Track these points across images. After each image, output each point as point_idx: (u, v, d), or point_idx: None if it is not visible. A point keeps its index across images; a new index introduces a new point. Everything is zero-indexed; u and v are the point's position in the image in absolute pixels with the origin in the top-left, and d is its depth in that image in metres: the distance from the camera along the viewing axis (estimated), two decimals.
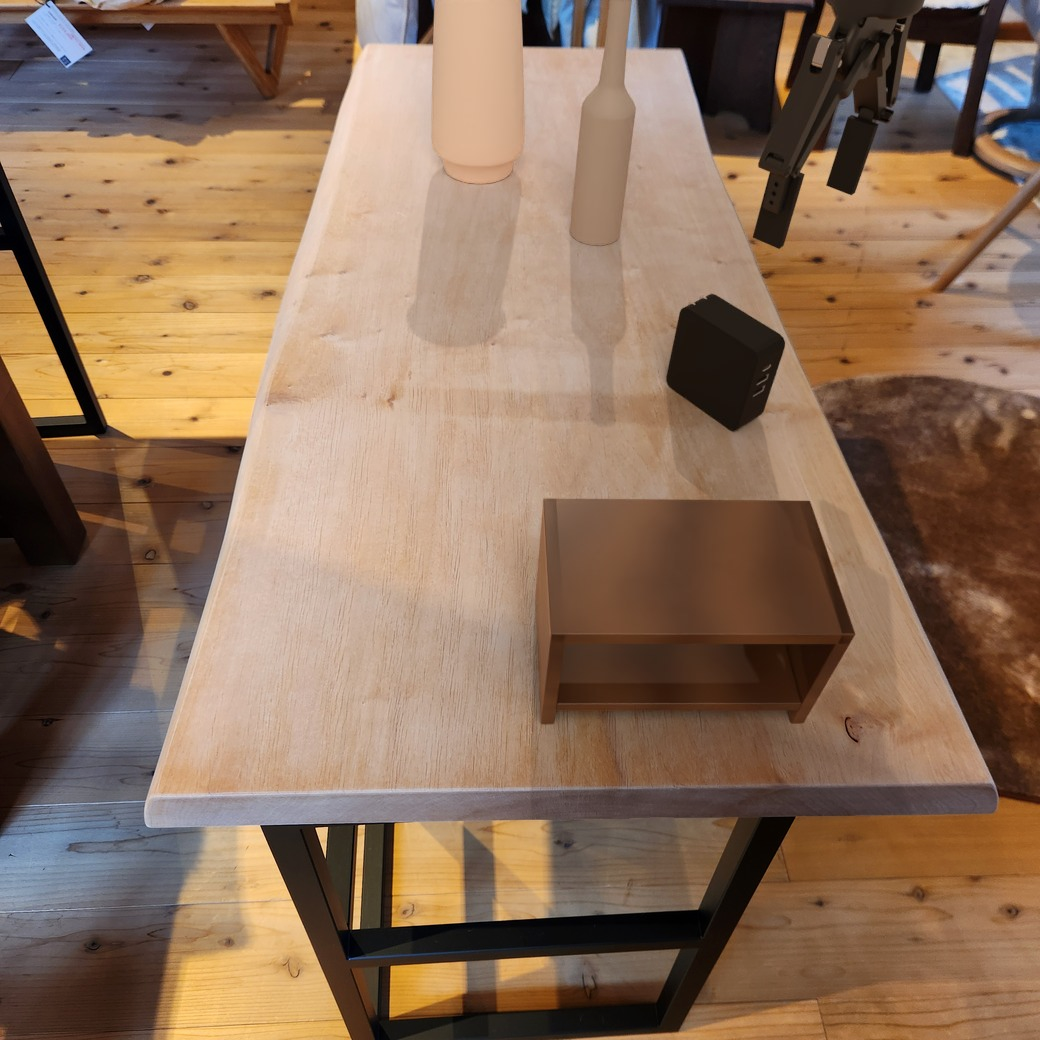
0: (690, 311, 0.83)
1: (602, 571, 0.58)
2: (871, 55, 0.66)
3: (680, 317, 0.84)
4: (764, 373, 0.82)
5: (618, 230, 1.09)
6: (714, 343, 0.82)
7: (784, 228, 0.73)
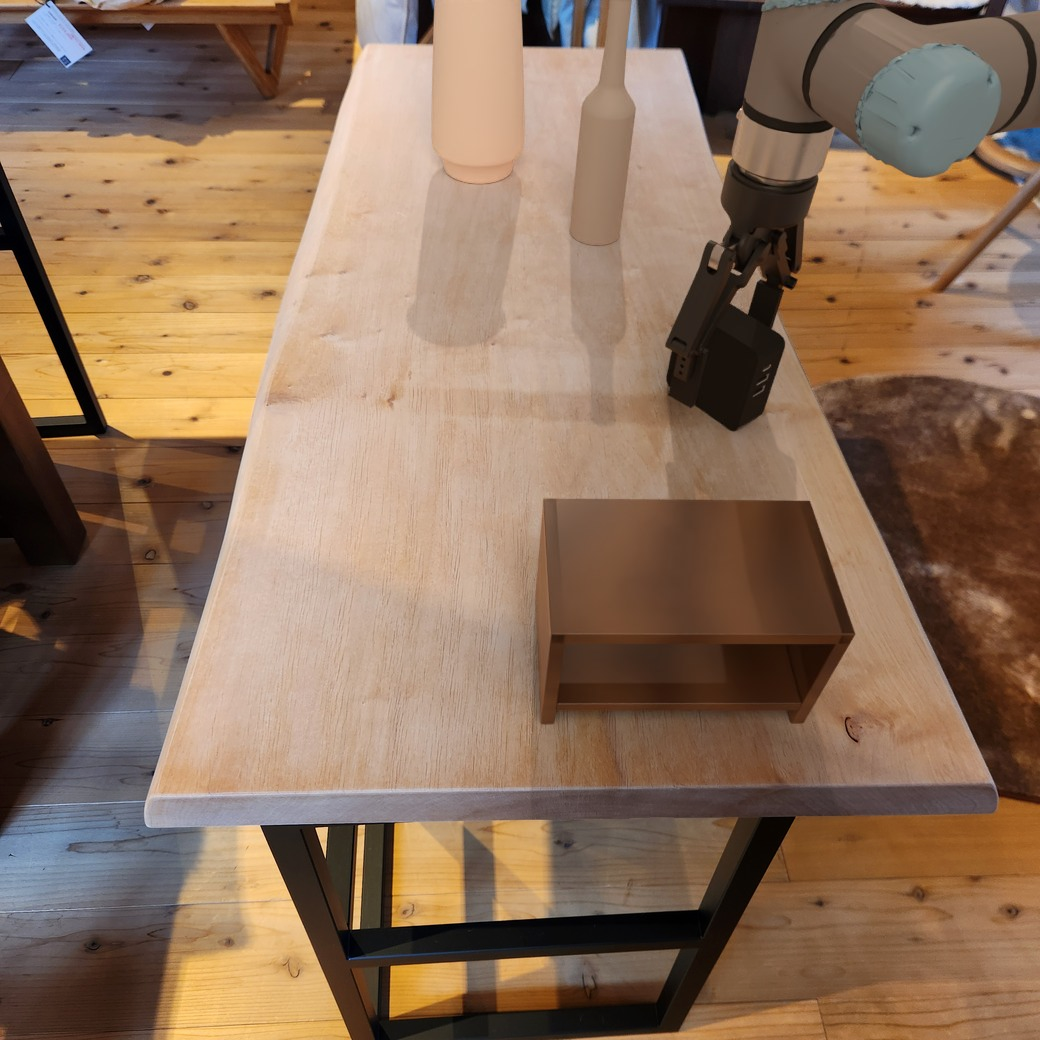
0: None
1: (602, 571, 0.58)
2: (764, 253, 0.74)
3: None
4: (764, 373, 0.82)
5: (618, 230, 1.09)
6: (715, 343, 0.82)
7: (694, 392, 0.81)
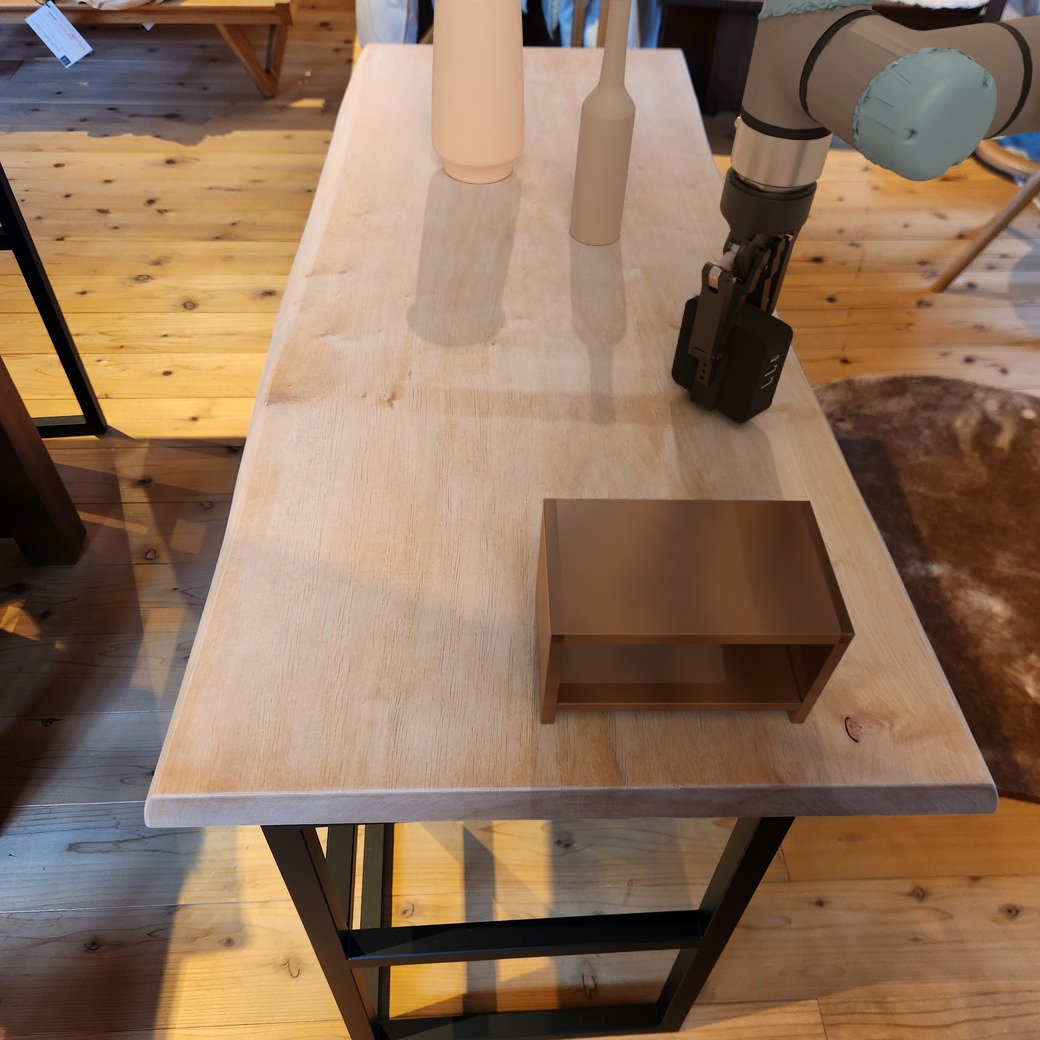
0: (696, 302, 0.82)
1: (602, 571, 0.58)
2: (763, 260, 0.74)
3: (686, 309, 0.83)
4: (772, 364, 0.80)
5: (618, 230, 1.09)
6: None
7: (714, 396, 0.84)
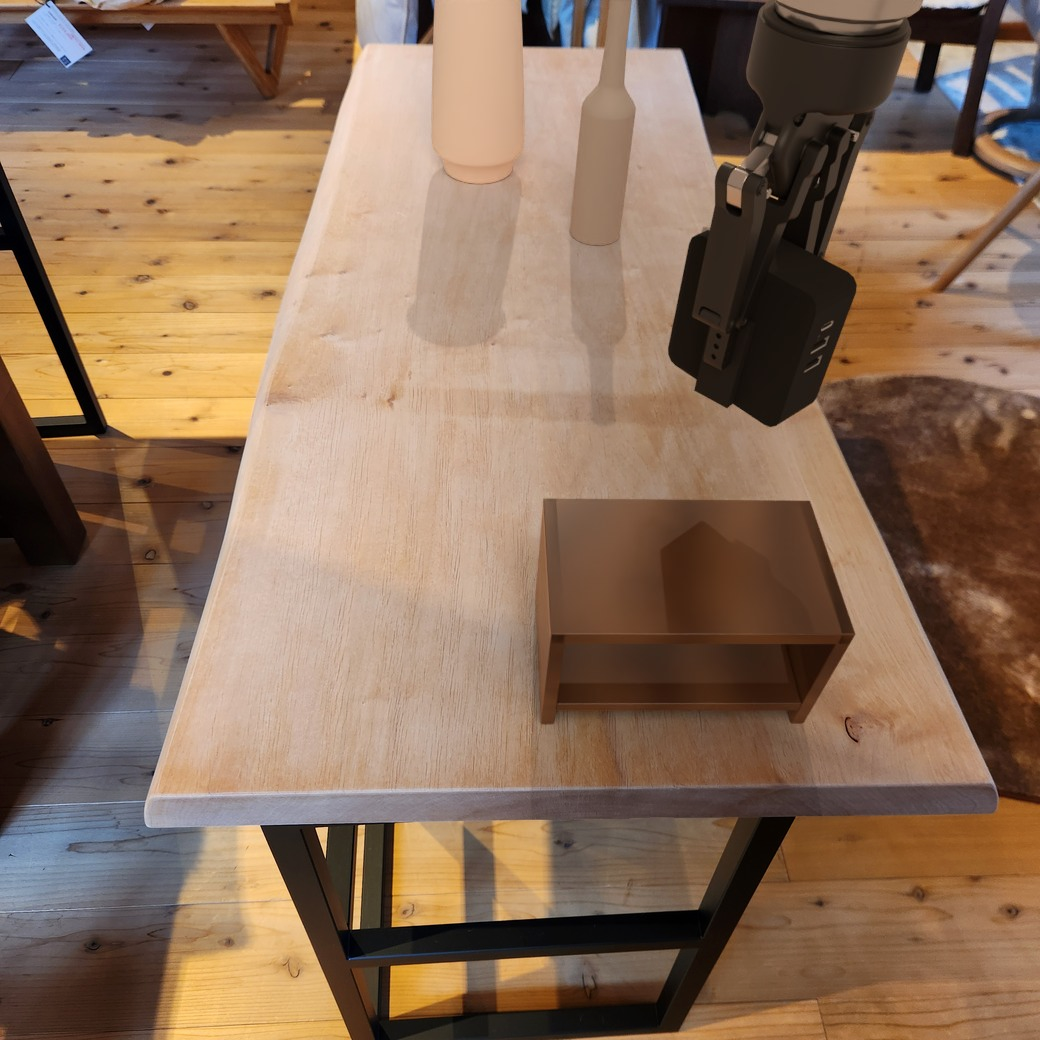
0: (706, 240, 0.53)
1: (602, 571, 0.58)
2: (816, 162, 0.45)
3: (690, 251, 0.55)
4: (823, 334, 0.52)
5: (618, 230, 1.09)
6: None
7: (732, 385, 0.56)
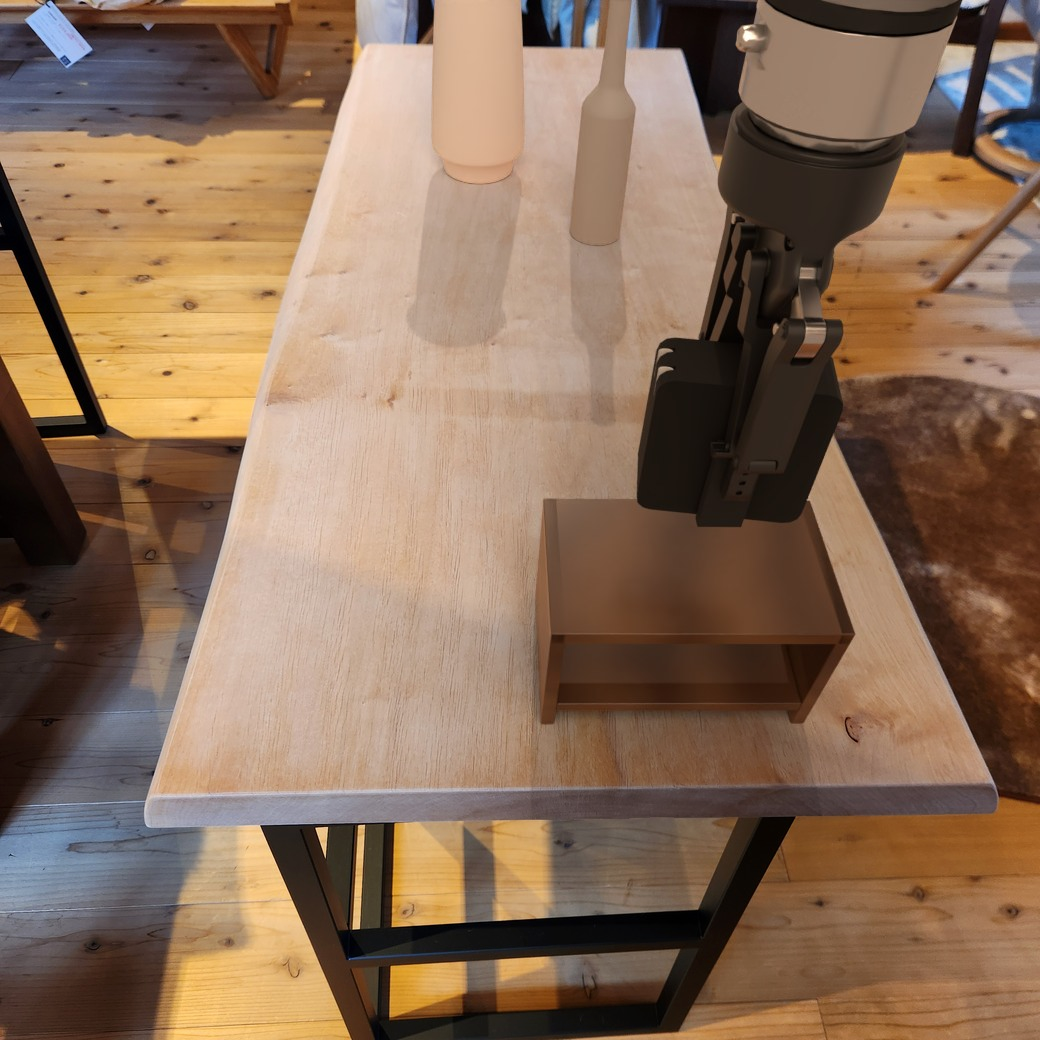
0: (682, 383, 0.45)
1: (602, 571, 0.58)
2: (829, 273, 0.40)
3: (659, 400, 0.46)
4: None
5: (618, 230, 1.09)
6: None
7: (747, 505, 0.50)
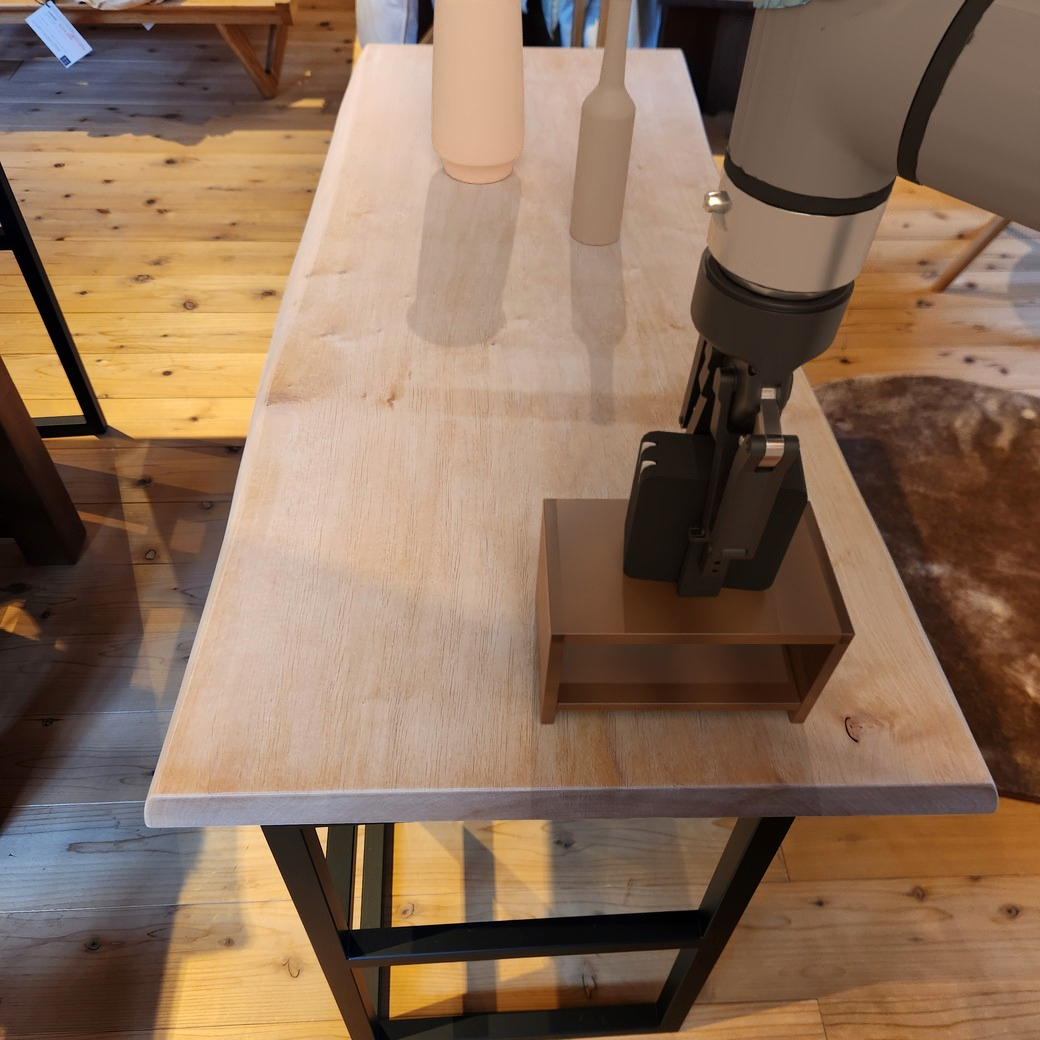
0: (663, 478, 0.50)
1: (602, 571, 0.58)
2: (790, 388, 0.45)
3: (643, 491, 0.51)
4: None
5: (618, 230, 1.09)
6: None
7: (723, 578, 0.55)
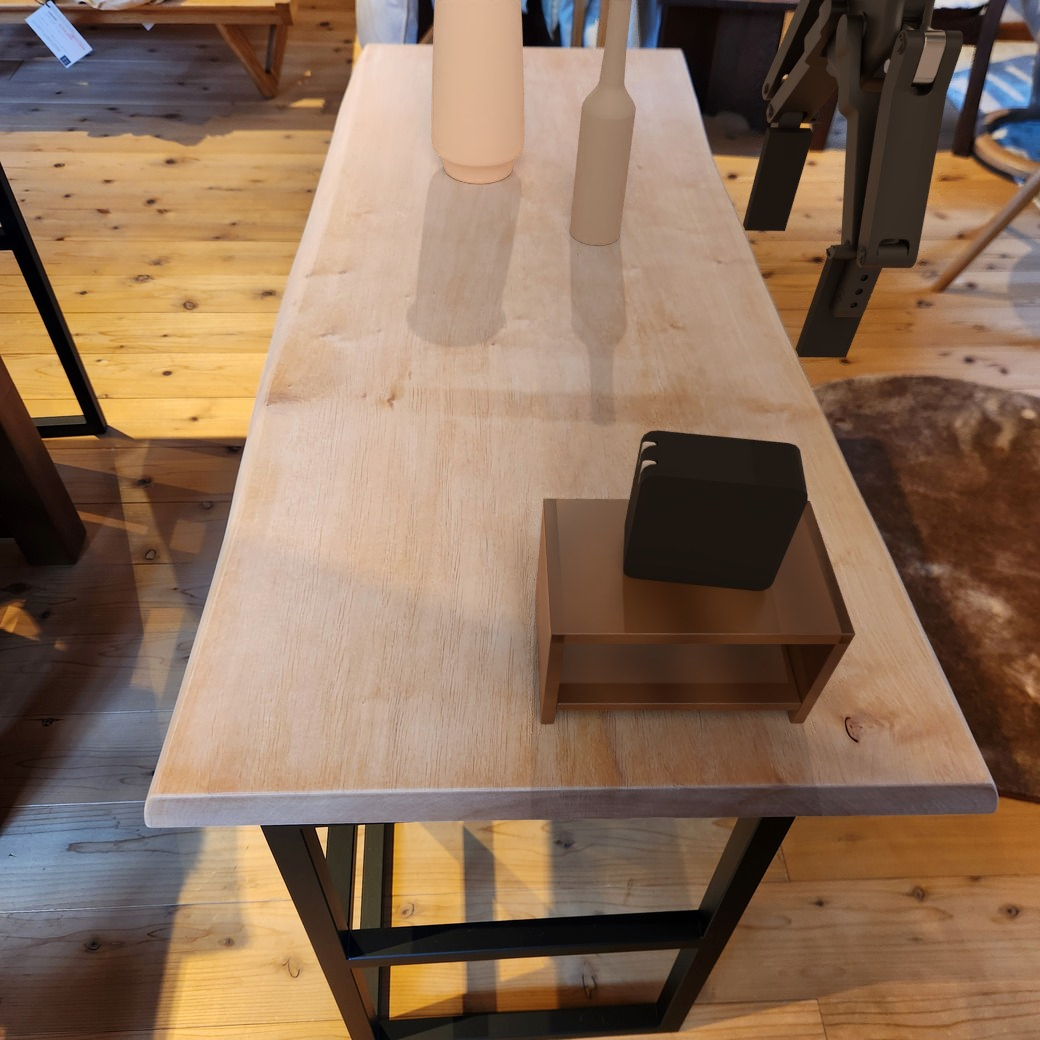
0: (663, 477, 0.50)
1: (602, 571, 0.58)
2: None
3: (643, 491, 0.51)
4: None
5: (618, 230, 1.09)
6: (720, 503, 0.51)
7: (855, 329, 0.46)
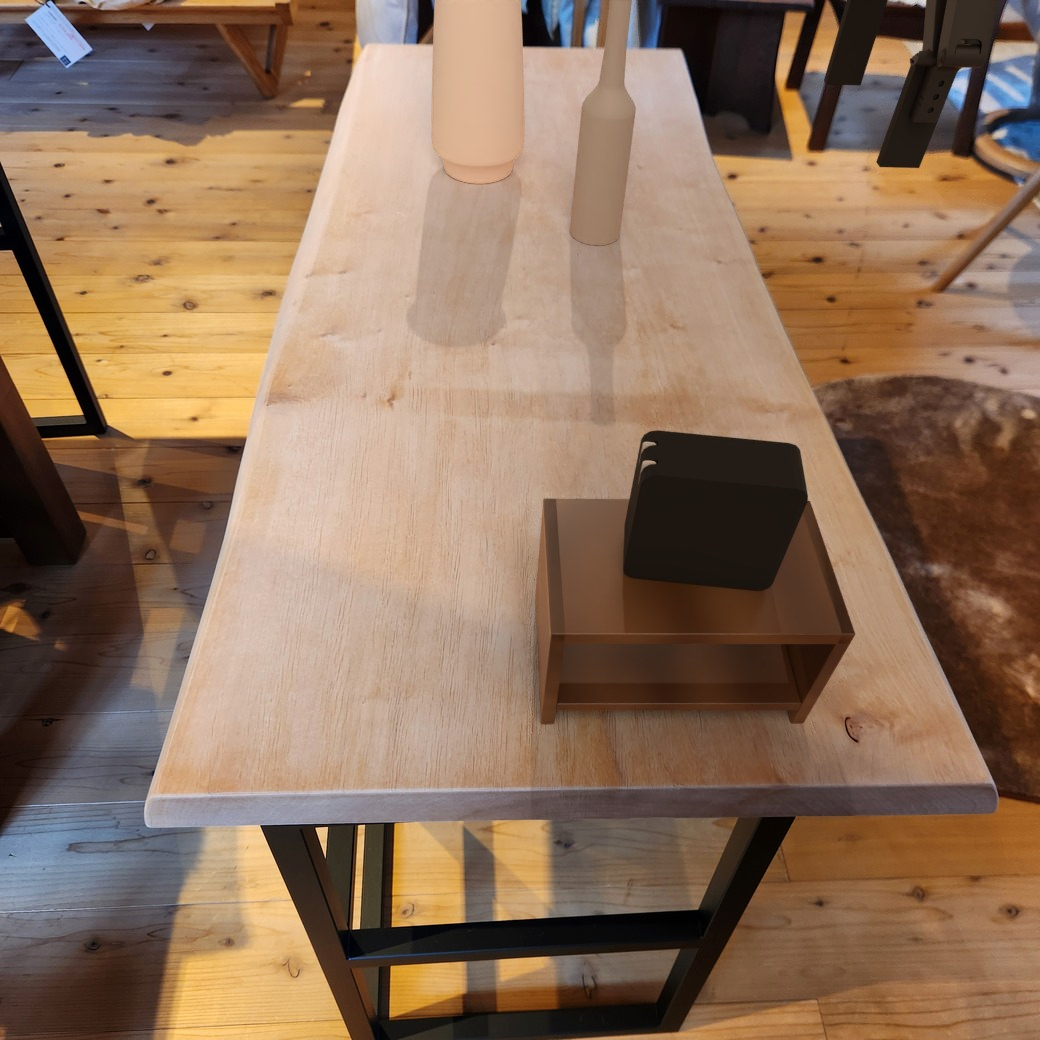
0: (663, 477, 0.50)
1: (602, 571, 0.58)
2: None
3: (643, 491, 0.51)
4: None
5: (618, 230, 1.09)
6: (720, 503, 0.51)
7: (929, 139, 0.55)
